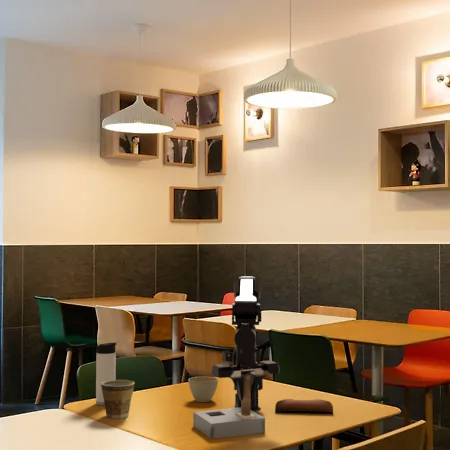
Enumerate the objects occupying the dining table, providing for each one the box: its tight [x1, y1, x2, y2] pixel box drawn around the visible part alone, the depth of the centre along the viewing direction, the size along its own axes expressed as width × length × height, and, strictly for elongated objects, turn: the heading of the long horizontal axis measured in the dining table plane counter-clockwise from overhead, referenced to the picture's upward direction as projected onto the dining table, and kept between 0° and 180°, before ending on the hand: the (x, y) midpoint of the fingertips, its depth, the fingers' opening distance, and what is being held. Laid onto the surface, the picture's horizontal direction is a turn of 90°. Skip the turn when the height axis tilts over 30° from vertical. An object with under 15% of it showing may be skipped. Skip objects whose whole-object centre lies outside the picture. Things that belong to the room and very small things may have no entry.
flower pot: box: [187, 376, 219, 403], centre depth 226 cm, size 10×10×7 cm
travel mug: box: [95, 341, 117, 407], centre depth 222 cm, size 6×7×20 cm
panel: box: [192, 407, 266, 440], centre depth 191 cm, size 16×14×4 cm
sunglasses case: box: [274, 398, 334, 415], centre depth 212 cm, size 18×7×7 cm, turn 85°
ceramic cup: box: [101, 379, 135, 420], centre depth 206 cm, size 13×10×10 cm
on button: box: [237, 413, 255, 419], centre depth 189 cm, size 4×5×2 cm
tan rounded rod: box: [241, 374, 252, 416], centre depth 190 cm, size 3×3×11 cm
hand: (245, 399), depth 190 cm, fingers closed on tan rounded rod, 3 cm apart
